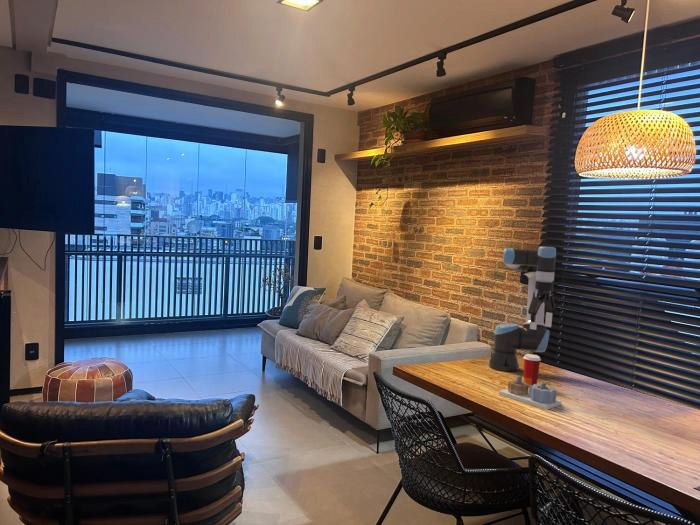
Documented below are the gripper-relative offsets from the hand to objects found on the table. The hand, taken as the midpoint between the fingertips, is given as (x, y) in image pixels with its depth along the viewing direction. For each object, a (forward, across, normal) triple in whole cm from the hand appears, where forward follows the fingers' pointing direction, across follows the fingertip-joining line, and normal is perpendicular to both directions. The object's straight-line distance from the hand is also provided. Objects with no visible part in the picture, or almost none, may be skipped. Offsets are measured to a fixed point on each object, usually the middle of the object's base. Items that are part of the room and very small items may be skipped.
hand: (540, 328), depth 230 cm
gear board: (+28, +16, +6) cm, 33 cm away
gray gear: (+27, +16, +12) cm, 33 cm away
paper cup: (+29, -4, -5) cm, 29 cm away
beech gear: (+27, +16, 0) cm, 31 cm away
